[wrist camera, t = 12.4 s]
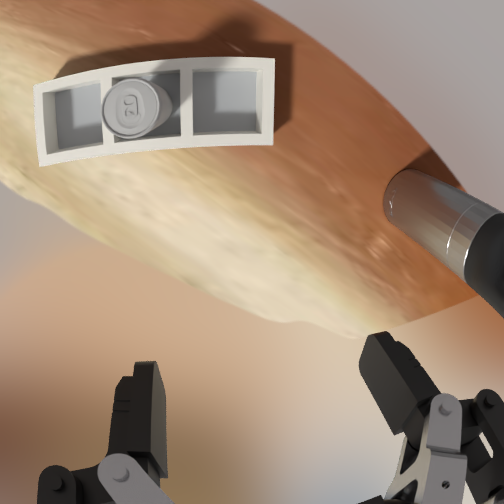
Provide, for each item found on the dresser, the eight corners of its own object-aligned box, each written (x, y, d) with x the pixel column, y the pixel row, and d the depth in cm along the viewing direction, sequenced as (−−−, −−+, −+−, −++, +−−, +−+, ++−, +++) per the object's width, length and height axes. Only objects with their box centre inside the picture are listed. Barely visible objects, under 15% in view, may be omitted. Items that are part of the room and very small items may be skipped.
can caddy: (266, 63, 30) (274, 58, 26) (264, 140, 34) (272, 145, 31) (48, 85, 26) (33, 85, 22) (53, 159, 30) (39, 167, 26)
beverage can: (133, 130, 30) (102, 145, 20) (128, 89, 28) (95, 84, 17) (175, 123, 31) (164, 134, 20) (171, 82, 29) (159, 71, 18)
